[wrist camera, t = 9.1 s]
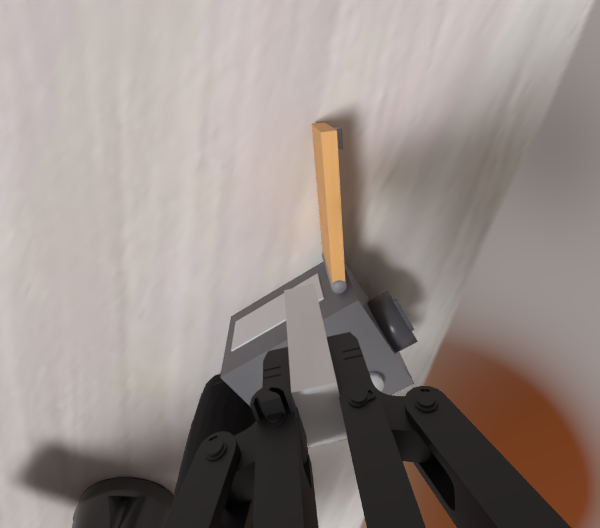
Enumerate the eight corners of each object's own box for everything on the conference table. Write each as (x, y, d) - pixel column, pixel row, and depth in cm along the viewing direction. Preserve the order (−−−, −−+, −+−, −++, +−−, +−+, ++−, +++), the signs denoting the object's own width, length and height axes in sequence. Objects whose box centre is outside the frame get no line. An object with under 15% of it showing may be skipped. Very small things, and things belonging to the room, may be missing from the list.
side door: (310, 123, 33) (319, 132, 27) (333, 121, 33) (347, 129, 27) (322, 261, 39) (332, 294, 33) (341, 258, 39) (354, 291, 33)
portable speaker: (192, 410, 49) (147, 588, 32) (210, 360, 46) (171, 529, 28) (251, 423, 51) (240, 598, 34) (274, 375, 47) (274, 544, 30)
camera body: (286, 377, 48) (289, 451, 38) (230, 315, 43) (218, 382, 33) (405, 313, 44) (442, 376, 35) (359, 238, 39) (387, 287, 30)
